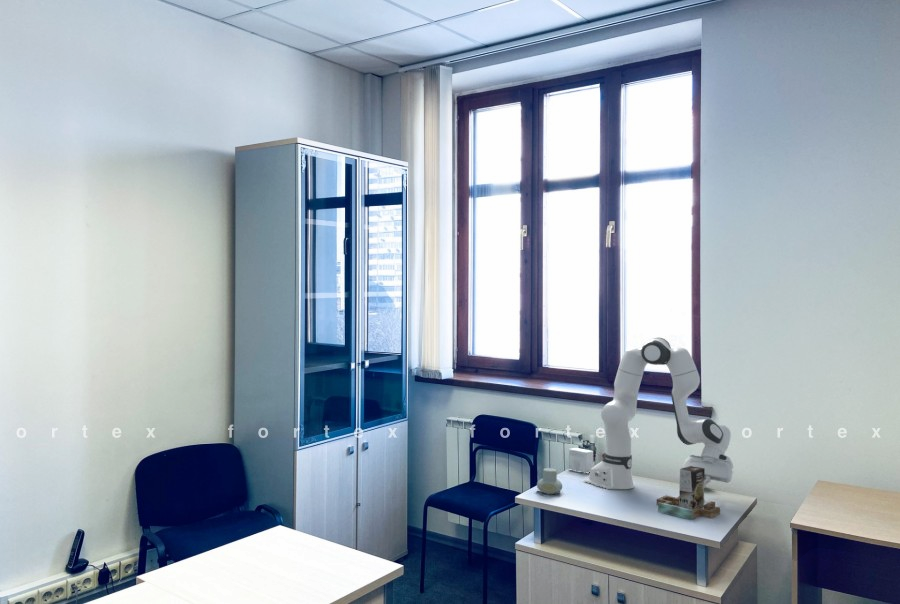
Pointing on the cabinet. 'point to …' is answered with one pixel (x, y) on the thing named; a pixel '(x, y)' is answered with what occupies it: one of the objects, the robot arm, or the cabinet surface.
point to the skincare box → (580, 459)
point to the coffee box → (691, 487)
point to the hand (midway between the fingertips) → (701, 485)
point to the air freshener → (549, 482)
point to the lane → (668, 508)
